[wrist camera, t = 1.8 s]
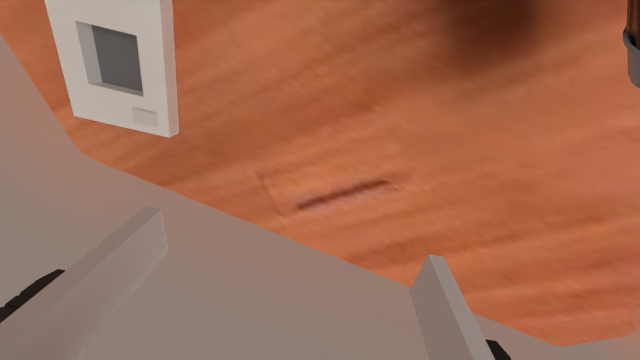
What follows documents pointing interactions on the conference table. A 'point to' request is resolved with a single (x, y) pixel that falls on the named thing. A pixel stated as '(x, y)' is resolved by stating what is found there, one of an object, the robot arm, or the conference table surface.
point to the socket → (119, 61)
